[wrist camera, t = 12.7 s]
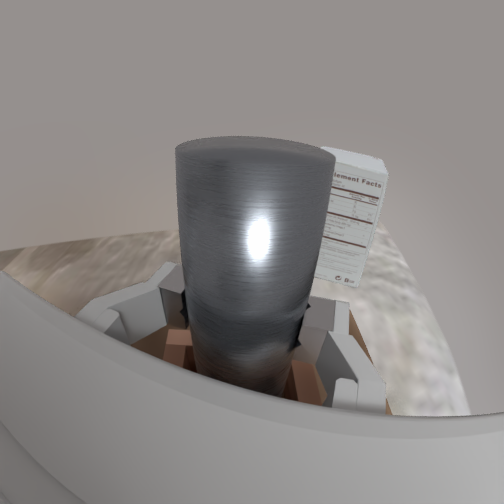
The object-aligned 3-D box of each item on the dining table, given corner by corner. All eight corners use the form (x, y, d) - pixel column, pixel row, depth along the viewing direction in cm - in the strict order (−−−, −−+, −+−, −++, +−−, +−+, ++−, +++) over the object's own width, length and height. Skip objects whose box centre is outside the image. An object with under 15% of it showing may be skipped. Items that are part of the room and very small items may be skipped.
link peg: (200, 430, 11) (155, 164, 5) (204, 367, 14) (189, 135, 8) (282, 429, 11) (363, 174, 5) (274, 367, 15) (312, 141, 8)
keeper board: (71, 515, 6) (31, 504, 4) (122, 316, 22) (110, 278, 20) (409, 509, 8) (450, 496, 6) (346, 319, 23) (359, 282, 21)
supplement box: (306, 241, 35) (321, 144, 28) (361, 256, 33) (385, 159, 26) (291, 272, 29) (308, 153, 23) (357, 290, 27) (391, 172, 20)
